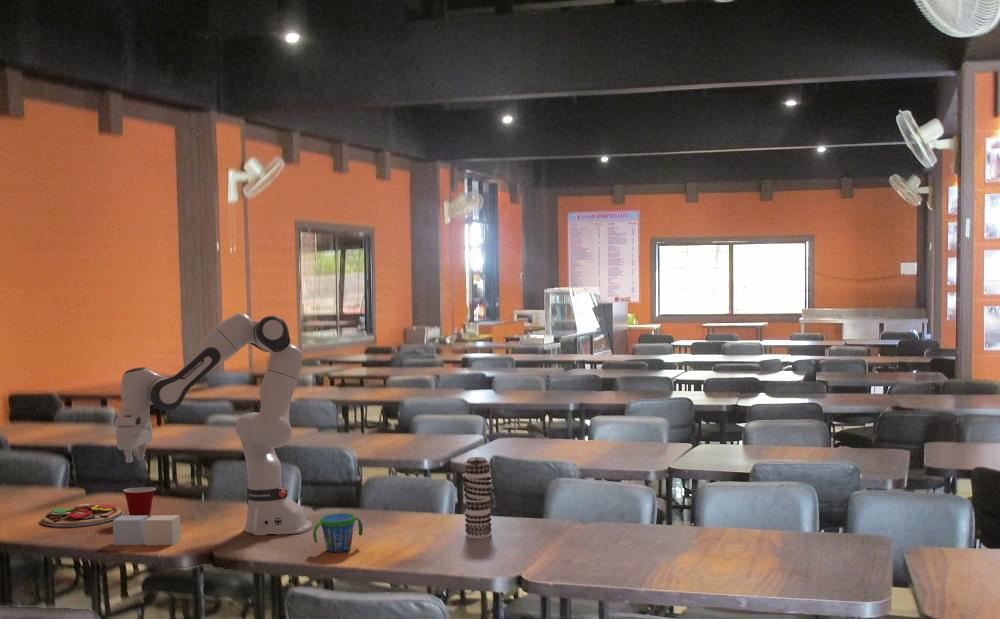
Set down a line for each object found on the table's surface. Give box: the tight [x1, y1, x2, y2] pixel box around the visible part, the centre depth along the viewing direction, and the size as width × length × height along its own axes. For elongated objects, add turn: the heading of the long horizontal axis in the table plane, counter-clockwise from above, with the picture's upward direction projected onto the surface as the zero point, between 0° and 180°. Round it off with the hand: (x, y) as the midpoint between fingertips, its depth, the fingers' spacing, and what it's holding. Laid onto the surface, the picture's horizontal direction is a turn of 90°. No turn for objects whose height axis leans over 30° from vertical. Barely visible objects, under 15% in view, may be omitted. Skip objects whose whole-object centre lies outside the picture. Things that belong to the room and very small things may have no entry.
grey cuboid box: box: [144, 514, 182, 546], centre depth 316 cm, size 9×6×8 cm
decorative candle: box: [462, 456, 492, 539], centre depth 317 cm, size 9×9×25 cm
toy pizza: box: [40, 503, 125, 528], centre depth 352 cm, size 28×28×4 cm
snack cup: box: [312, 512, 364, 553], centre depth 303 cm, size 16×10×10 cm
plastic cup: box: [122, 486, 157, 518], centre depth 344 cm, size 11×11×12 cm
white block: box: [112, 515, 149, 546], centre depth 316 cm, size 9×6×8 cm
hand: (135, 459), depth 319 cm, fingers open, 8 cm apart
